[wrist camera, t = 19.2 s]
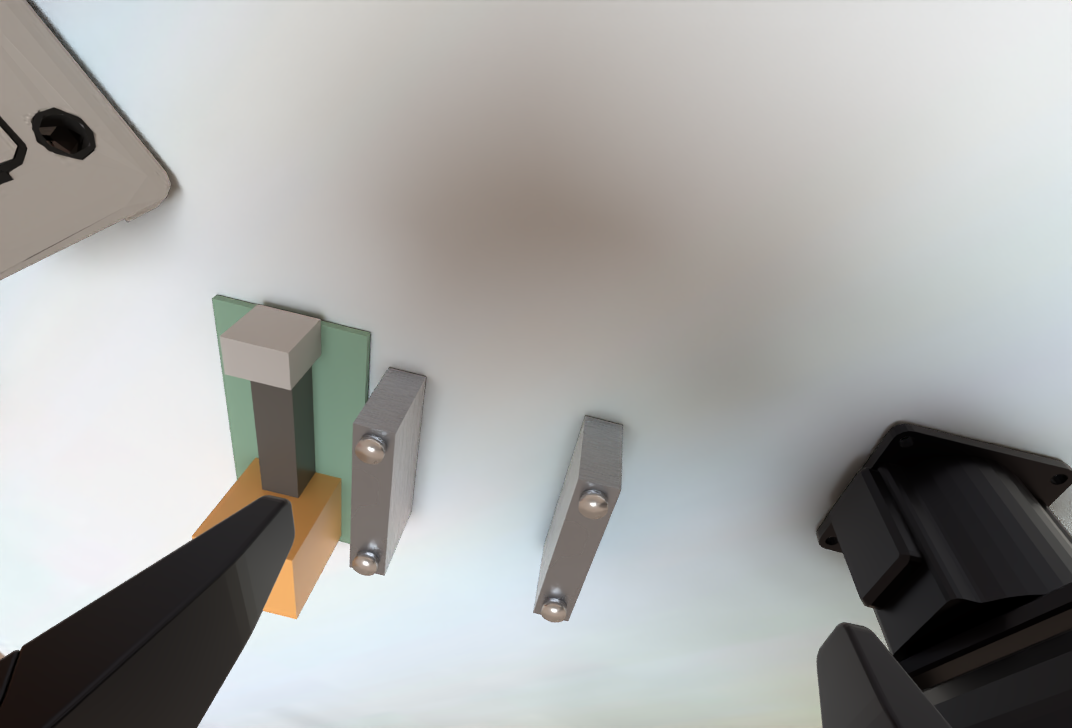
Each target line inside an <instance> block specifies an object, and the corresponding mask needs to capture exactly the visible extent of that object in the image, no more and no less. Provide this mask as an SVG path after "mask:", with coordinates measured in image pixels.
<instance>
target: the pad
mask: <svg viewBox="0 0 1072 728" xmlns="http://www.w3.org/2000/svg"><path fill="white" fill-rule="evenodd" d="M212 302H213V309H214V316H215V324H216V331H217V338H218V345H219V353H220V360H221V367H222V374H223V381H224V389H225V396H226V403H227V410H228V418H229V425H230V432H231V439H232V447H233V454H234V461H235V468H236V476H237V480H238V479H239V477H240V476H241V475H242V474H243V472H244V471H245V470H246V469H247V468H248V466H249V465H250V464H251V463H252V461H253V460H254V459H255V458H259V456H258V447H257V438H256V429H255V420H254V411H253V402H252V393H251V384H250V380H246V379H242V378H238V377H234V376H230V375H226V374H225V372H224V365H223V358H222V351H221V344H220V337H219V336H220V335H222V334H223V333H224V332H225V331H226V330H228V329H229V328H230V327H231V326H232V325H234V324H235V323H236V322H237V321H238V320H240V319H241V318H242V317H243V316H244V315H246V314H247V313H248V312H249V311H250V310H252V309H253V308H254V307H255V306H256V304H252V303H248V302H244V301H240V300H236V299H232V298H228V297H224V296H219V295H216V296H215V297H213V298H212ZM369 355H370V332H366V331H362V330H358V329H354V328H350V327H346V326H342V325H337V324H333V323H329V322H325V321H321V356H320V357H319V358H318V359H317V360H316V361H315V363H314V364H313V365H312V384H313V413H314V441H315V470H316V472H317V473H321V474H325V475H329V476H333V477H337V478H341V537H340V539H339V541H341V542H345V543H349V544H350V530H351V483H352V437H353V422H354V421H355V419H356V418H357V416H358V415H359V413H360V411H361V410H362V408H363V407H364V405H365V404H366V402H367V401H368V380H369Z"/></svg>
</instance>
